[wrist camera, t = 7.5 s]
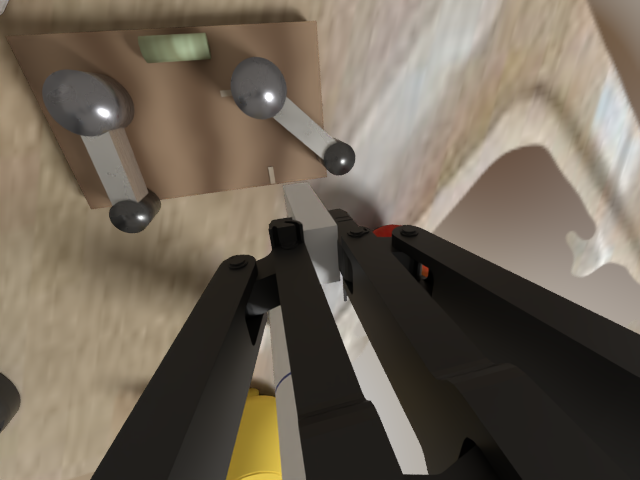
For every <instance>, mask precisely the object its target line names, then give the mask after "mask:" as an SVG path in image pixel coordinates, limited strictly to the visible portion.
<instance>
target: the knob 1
mask: <svg viewBox="0 0 640 480" xmlns="http://www.w3.org/2000/svg"><path fill="white" fill-rule="evenodd" d="M42 96H43V101H44V104H45V106H46V108H47V110H48V112H49V113H50V115H51V116H52V117H53V118H54V120H55V121H56V122H57V123H58V124H60V125H61V126H62V127H64V128H65V129H67V130H69V131H70V132H73V133H75V134H78V135H81V138H82V140H83V142H84V144H85V146H86V149H87V151H88V153H89V155H90V157H91V160H92V162H93V164H94V166H95V168H96V171H97V173H98V175H99V177H100V179H101V182H102V184H103V186H104V188H105V190H106V192H107V195H108V197H109V199H110V201H111V203H112V207H111V209H110V212H109V217H110V220H111V222H112V224H113V225H114V226H115V227H116V228H118V229H119V230H121V231H123V232H127V233H138V232H140V231H142V230H144V229H145V228H146V227H147V225H148V224H149V223H150V222H151V220H152V219H153V218H154V217H155V216H156V214H157V213H158V212H159V210H160V208H161V202H160V199H159V197H158V196H157V195H156V194H155V193H154V192H152V191H150V190H148V189H147V187H146V185H145V182H144V179H143V177H142V174H141V172H140V169H139V166H138V164H137V161H136V158H135V156H134V153H133V151H132V148H131V145H130V143H129V140H128V137H127V135H126V132H125V130H124V128H126V127H127V126H128V125H129V124H130V123H131V122H132V120H133V117H134V104H133V101H132V98H131V96H130V94H129V93H128V91H127V90H126V89H125V88H124V87H123V86H122V85H121V84H120V83H119V82H118V81H116V80H114V79H113V78H111V77H109V76H106V75H102V74H97V73H90V72H83V71H77V70H69V69H65V70H59V71H56V72H54V73H52V74H51V75H49V76H48V77H47V78H46V80H45V82H44V84H43V89H42Z"/></svg>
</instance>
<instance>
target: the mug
mask: <svg viewBox="0 0 640 480" xmlns="http://www.w3.org/2000/svg"><path fill="white" fill-rule="evenodd" d="M8 1H9V0H0V15H1V14H2V13H3V12H4V10H5V8H6V5H7V3H8Z"/></svg>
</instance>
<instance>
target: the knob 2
mask: <svg viewBox="0 0 640 480" xmlns="http://www.w3.org/2000/svg"><path fill="white" fill-rule="evenodd" d="M231 93H232V96H233V99H234V101H235V103H236V105H237V106H238V107H239V109H240V110H241V111H242V112H243V113H245V114H246V115H248V116H250V117H252V118H255V119H268V118H271V117H273V118H274V119H275V120H276V121H278V122H279V123H280V124H281V125H282V126H284V127H285V128H286V129H287V130H288V131H290V132H291V133H292V134H293V135H294V136H296V137H297V138H298V139H299V140H300V141H302V142H303V143H304V144H305V145H306V146H308V147H309V148H310V149H311V150H312V151H314V152H315V153H316V156H317V159H318V161H319V162H320V163H321V164H322V165H323V166H324V167H325V168H326V169H327V170H328V171H329V172H330V173H332V174H334V175H344V174H346V173H348V172H349V171H350V170H351V169H352V167H353V166H354V163H355V153H354V150H353V149H352V148H351V146H349V145H348V144H346V143H344V142H342V141H340V140H338V139H336V138H332V137H331V136H330V135H328V134H327V133H326V132H325V131H324V130H323V129H322V128H321V127H320V126H318V125H317V124H316V123H315V122H314V121H313V120H312V119H311V118H310V117H308V116H307V115H306V114H305V113H304V112H303V111H302V110H301V109H300V108H298V107H297V106H296V105H295V104H294V103H293V102H292V101H291V100H290V99H288V98H287V97H286V96H287V87H286V82H285V79H284V76H283V74H282V73H281V71H280V70H279V68H278V67H277V66H276V65H275V64H274V63H272V62H271V61H269V60H267V59H265V58H262V57H250V58H247V59H245V60H243V61H242V62H240V63H239V64H238V65H237V67H236V68H235V70H234V71H233V74H232V77H231Z"/></svg>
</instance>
